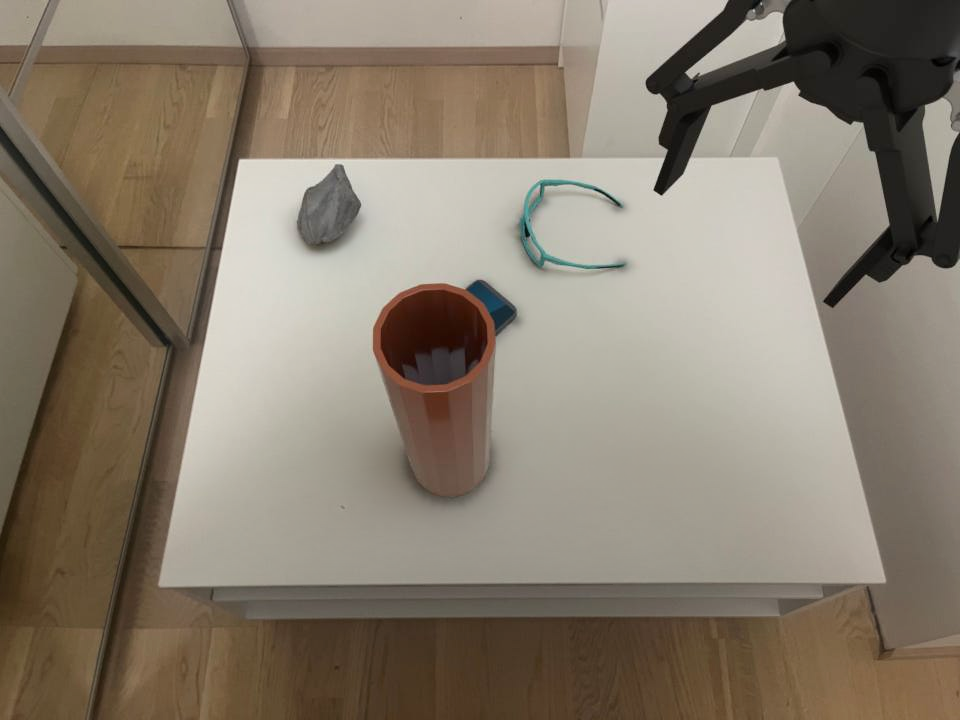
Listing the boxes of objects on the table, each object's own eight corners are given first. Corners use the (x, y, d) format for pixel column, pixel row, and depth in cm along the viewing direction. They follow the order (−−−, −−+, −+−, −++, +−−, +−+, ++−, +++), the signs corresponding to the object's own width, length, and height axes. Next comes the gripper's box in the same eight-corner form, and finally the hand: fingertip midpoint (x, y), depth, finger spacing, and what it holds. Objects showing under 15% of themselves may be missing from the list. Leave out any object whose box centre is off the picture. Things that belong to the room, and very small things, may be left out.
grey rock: (306, 190, 96) (292, 150, 89) (369, 191, 96) (360, 152, 89) (295, 255, 91) (280, 219, 84) (361, 256, 91) (351, 220, 84)
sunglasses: (517, 191, 96) (523, 167, 91) (619, 201, 97) (629, 178, 92) (516, 274, 90) (522, 253, 85) (624, 284, 91) (635, 263, 86)
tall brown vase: (504, 456, 79) (520, 331, 50) (451, 513, 76) (435, 417, 47) (448, 407, 82) (432, 262, 53) (395, 461, 79) (347, 339, 50)
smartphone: (520, 314, 87) (520, 310, 86) (437, 390, 83) (436, 387, 82) (479, 279, 89) (479, 275, 89) (396, 351, 85) (395, 348, 84)
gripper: (1313, 15, 24) (944, 305, 43) (732, -230, 31) (635, 113, 51) (1251, 131, 22) (889, 383, 41) (637, -162, 29) (573, 170, 48)
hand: (749, 235), depth 46 cm, fingers open, 13 cm apart
